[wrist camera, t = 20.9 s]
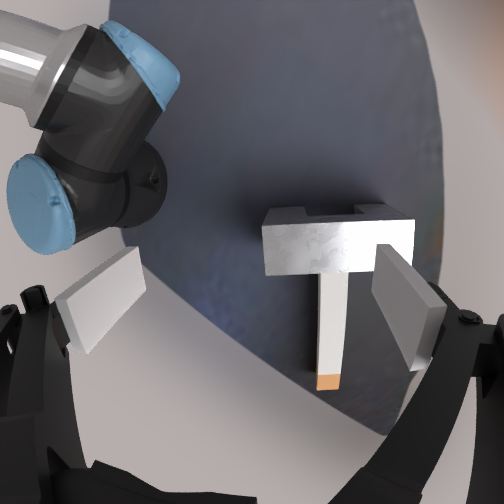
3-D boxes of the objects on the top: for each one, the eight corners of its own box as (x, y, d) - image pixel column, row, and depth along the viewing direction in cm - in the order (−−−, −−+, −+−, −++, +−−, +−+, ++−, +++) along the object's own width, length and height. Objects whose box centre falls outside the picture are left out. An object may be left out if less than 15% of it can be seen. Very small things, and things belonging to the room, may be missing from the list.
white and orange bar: (336, 371, 51) (338, 388, 47) (315, 372, 52) (316, 390, 47) (342, 256, 44) (348, 268, 39) (318, 257, 45) (320, 269, 40)
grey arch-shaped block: (385, 241, 42) (411, 268, 31) (272, 246, 45) (265, 275, 34) (385, 203, 40) (414, 220, 29) (269, 207, 43) (261, 226, 32)
